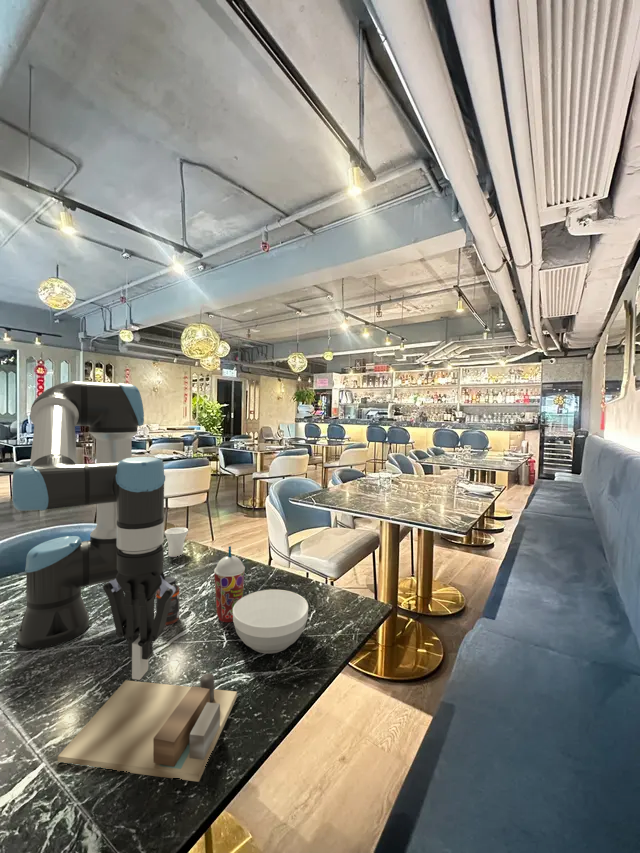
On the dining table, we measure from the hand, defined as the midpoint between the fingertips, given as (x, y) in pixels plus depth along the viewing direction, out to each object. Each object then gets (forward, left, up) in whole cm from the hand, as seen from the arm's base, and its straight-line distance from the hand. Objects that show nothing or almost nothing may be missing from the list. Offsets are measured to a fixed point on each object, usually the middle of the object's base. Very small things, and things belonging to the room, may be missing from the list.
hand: (140, 673), depth 70 cm
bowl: (+17, +30, -11) cm, 36 cm away
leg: (+9, -2, -9) cm, 13 cm away
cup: (-34, +81, -10) cm, 88 cm away
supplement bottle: (-13, +35, -10) cm, 39 cm away
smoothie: (+3, +39, -10) cm, 40 cm away
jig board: (+3, +1, -10) cm, 11 cm away
